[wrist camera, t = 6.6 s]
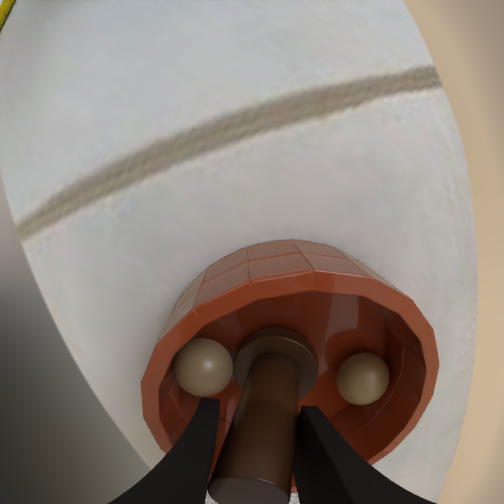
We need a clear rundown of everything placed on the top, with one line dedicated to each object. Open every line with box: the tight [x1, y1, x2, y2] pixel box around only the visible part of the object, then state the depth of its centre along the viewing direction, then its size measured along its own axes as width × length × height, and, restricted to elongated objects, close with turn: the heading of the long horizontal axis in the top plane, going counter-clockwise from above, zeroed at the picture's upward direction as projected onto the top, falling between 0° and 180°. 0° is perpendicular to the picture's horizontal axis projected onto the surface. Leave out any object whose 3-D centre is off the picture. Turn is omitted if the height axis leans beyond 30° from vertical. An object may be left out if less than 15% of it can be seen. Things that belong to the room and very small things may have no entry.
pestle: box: [207, 328, 318, 504], centre depth 10 cm, size 4×4×8 cm
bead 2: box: [336, 352, 390, 405], centre depth 14 cm, size 3×3×3 cm
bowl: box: [141, 240, 439, 493], centre depth 13 cm, size 12×12×5 cm
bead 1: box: [173, 338, 233, 396], centre depth 13 cm, size 3×3×3 cm
